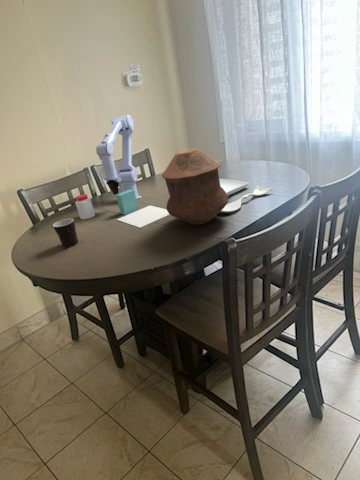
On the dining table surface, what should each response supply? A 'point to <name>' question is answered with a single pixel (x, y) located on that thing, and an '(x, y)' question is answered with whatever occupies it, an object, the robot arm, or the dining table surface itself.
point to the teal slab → (127, 202)
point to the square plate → (232, 185)
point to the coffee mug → (66, 232)
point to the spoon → (237, 204)
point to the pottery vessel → (194, 187)
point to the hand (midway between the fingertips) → (116, 194)
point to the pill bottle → (84, 207)
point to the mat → (144, 216)
